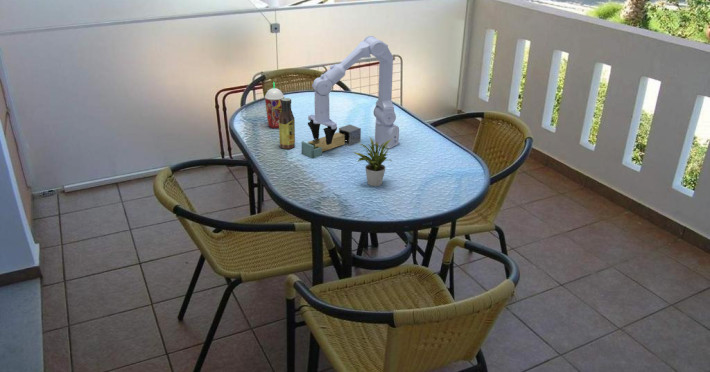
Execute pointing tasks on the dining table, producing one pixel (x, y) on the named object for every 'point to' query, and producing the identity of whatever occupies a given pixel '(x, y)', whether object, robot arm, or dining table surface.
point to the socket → (310, 150)
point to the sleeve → (351, 134)
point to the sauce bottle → (286, 125)
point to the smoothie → (273, 106)
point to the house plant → (375, 163)
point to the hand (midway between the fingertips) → (322, 141)
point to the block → (336, 141)
